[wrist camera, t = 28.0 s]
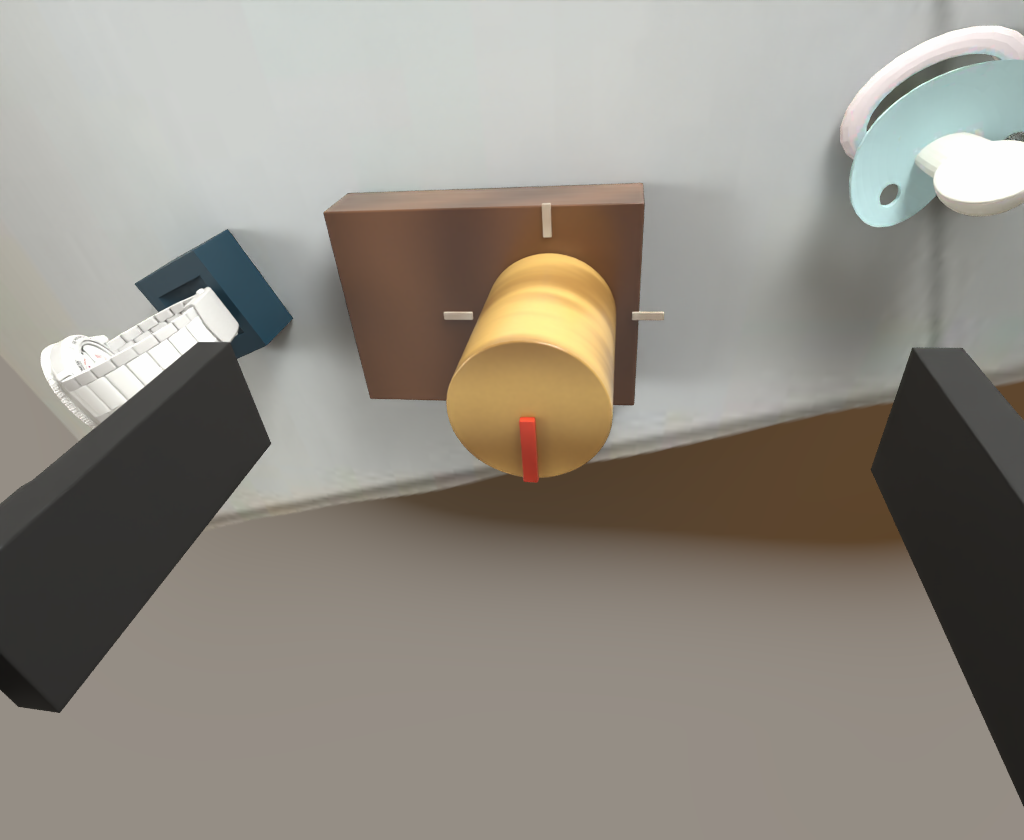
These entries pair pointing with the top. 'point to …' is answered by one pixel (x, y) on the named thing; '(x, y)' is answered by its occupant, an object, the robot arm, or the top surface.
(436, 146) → the top surface
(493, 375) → the dial
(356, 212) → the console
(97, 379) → the watch
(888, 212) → the pacifier
